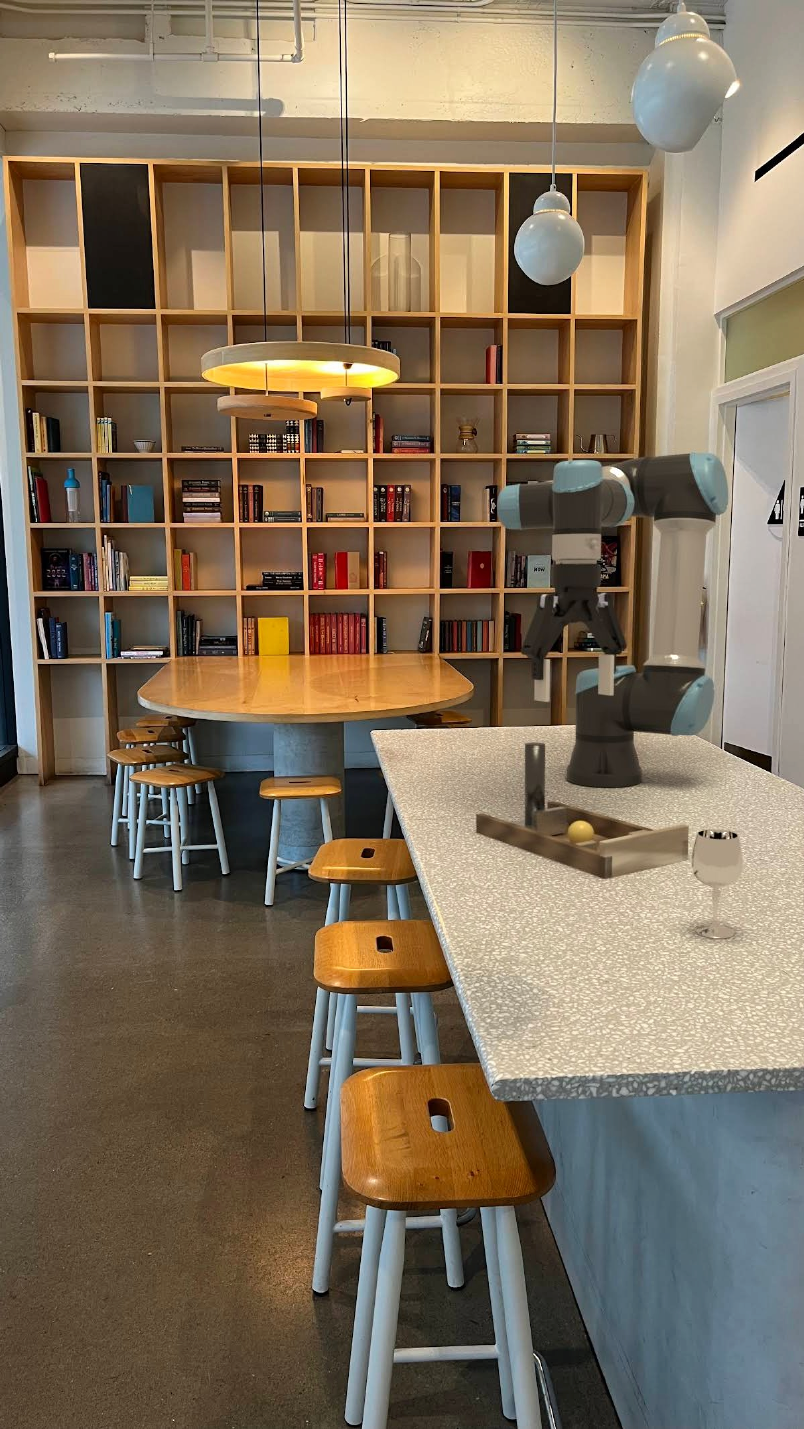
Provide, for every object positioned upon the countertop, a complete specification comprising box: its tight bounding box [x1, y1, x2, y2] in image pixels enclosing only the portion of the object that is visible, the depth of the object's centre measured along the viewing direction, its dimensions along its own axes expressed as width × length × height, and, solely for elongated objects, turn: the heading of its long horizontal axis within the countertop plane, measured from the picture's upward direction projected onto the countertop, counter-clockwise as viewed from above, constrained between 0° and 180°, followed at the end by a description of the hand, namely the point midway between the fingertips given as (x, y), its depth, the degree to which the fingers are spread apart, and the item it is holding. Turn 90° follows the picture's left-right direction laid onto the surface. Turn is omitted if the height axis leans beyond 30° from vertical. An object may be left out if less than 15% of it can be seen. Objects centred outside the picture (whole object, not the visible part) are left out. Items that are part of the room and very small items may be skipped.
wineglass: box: [691, 829, 744, 940], centre depth 121 cm, size 6×6×12 cm
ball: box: [568, 821, 594, 844], centre depth 155 cm, size 4×4×4 cm
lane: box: [475, 800, 690, 880], centre depth 156 cm, size 30×16×6 cm, turn 32°
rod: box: [509, 741, 568, 835], centre depth 163 cm, size 7×9×14 cm
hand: (574, 697), depth 162 cm, fingers open, 13 cm apart
